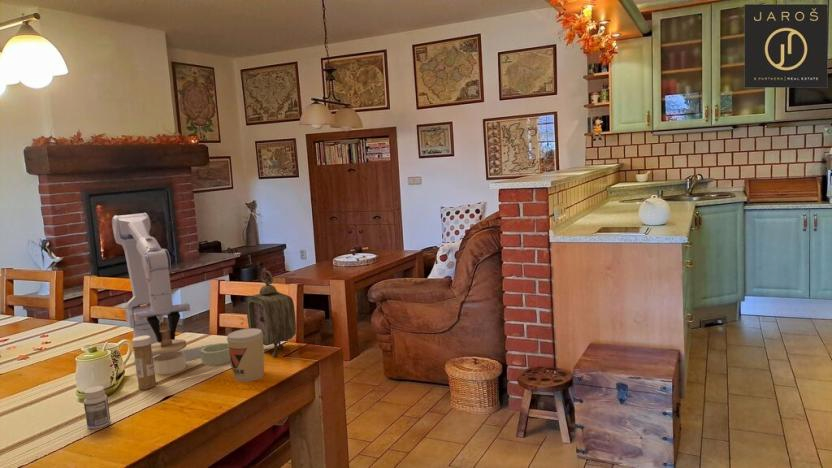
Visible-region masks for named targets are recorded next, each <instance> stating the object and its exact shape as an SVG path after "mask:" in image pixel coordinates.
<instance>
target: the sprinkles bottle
mask: <svg viewBox="0 0 832 468" xmlns="http://www.w3.org/2000/svg"><path fill="white" fill-rule="evenodd" d="M131 345H132V347H133V351H134V354H133V356H134V364H135V371H136V377H137V384H138V389H139V390H150V389H152V388H154V387H155V386H157V380H156V379H157V378H156V374H155V370H154V362H153V356H152V349H151V337H150V336H139V337H135V338H134V337H133V338H132V340H131ZM149 388H150V389H149Z"/></svg>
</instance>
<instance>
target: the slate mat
mask: <svg viewBox="0 0 832 468" xmlns="http://www.w3.org/2000/svg"><path fill="white" fill-rule="evenodd" d="M209 345H212V343H211V344H206V345H201V346H197V347H194V348H189V349H185V350H181V351H182V352H184V353H185V356H186V362H191V361H195V360H197V359H202V356H201V349H202V348H204V347H206V346H209Z"/></svg>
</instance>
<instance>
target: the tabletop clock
mask: <svg viewBox="0 0 832 468" xmlns="http://www.w3.org/2000/svg"><path fill="white" fill-rule="evenodd" d="M264 273H267V274H268V275H269V277H270V280H269V279H267V278H266V279H264V278H263V274H264ZM260 278H261V281H262V283H264V284H265V285H263V286H262V287H261V288H260V290H259V293H258V294H257V293H256V294H252V295H248V296H247V297H246V301H245V302H246V303H245V304H246V316H247V317H246V318H247V325H248V329H253V328H254V329H260V330H261V331H262V332H263V346H271V345H273V349H274V351H273V352H272V354H271V355H272V357H275V358H276V357H278V355H279V353H278V351H277V349H279V350H282V349H283V348H284V344H281V342H284V341H288V340H291V339H293V338H294V336H295V335H297V334H296V333H297V321H296V312H295V311H296V310H295V305H294V300H293V298H292V297H291V296H290V295H287V294H285V293H282V292H280V291H277V288H276V287H275V286H274V285H272V283H273V281H274V277H273V274H272V273H271V271H269V270H267V269H264V270H263V271H261V273H260Z"/></svg>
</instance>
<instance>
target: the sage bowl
mask: <svg viewBox="0 0 832 468" xmlns="http://www.w3.org/2000/svg"><path fill="white" fill-rule="evenodd" d="M211 344H212V343H211ZM208 345H209V346H206V345H205V346H206V347H204V348H202V349H201V356H202V358H201V363H202V364H203V365H205V366H216V365H217V366H218V365H224V364H226V363H229V362H231V357H230V352H229V346H228V342H220V343H218V342H217V343H214V344H212V345H210V344H208Z"/></svg>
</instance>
